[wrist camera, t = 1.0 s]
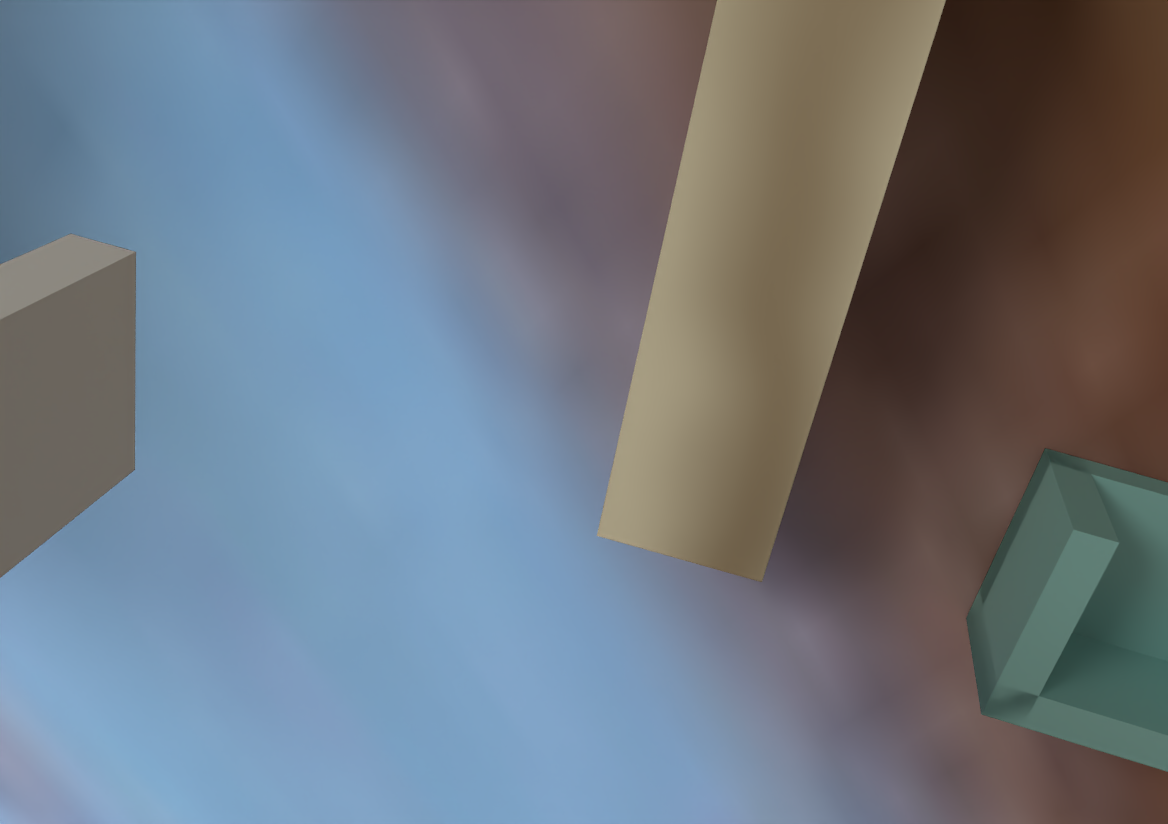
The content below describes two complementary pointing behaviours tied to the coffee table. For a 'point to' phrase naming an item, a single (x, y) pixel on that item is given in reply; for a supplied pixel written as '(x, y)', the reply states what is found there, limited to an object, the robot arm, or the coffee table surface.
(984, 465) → the coffee table surface
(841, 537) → the coffee table surface
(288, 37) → the coffee table surface
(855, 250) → the beige long bar
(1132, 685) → the cap
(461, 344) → the coffee table surface
